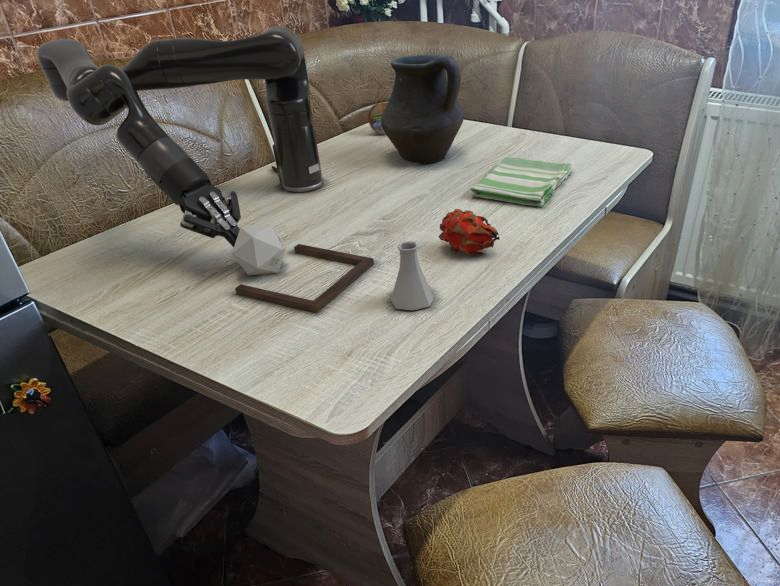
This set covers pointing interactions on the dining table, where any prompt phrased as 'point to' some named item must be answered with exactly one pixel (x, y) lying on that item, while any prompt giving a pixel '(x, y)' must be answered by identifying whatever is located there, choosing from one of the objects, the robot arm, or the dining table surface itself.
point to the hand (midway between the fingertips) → (244, 247)
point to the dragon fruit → (467, 232)
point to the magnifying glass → (377, 117)
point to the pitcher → (423, 107)
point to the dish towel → (522, 181)
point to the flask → (410, 281)
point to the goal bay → (324, 298)
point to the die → (259, 250)
